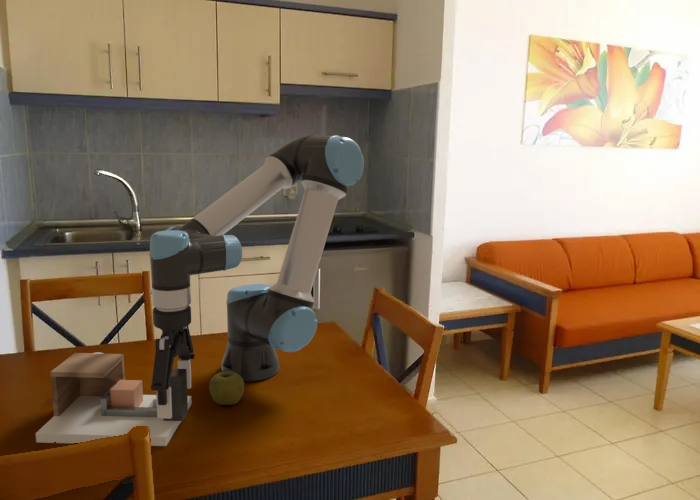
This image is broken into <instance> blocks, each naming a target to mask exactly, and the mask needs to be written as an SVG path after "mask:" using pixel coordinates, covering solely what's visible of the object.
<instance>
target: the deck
mask: <svg viewBox="0 0 700 500" xmlns="http://www.w3.org/2000/svg"><path fill="white" fill-rule="evenodd" d="M101 397H102V396H80V397H79V398H78V399H77V400H75V401H74V402H73V403H72V404H71V405H70V406H69V407H68V408H67V409H66V410H65V411H64V412H63V413H62V414H61V415H60V416H54V415H53V417H51V418H50V420H48V421H47V422H46V423H45V424H44V425H43V426H41V428H40V429H38V430H37V432H35V443H37V444H38V443H43V444H44V443H45V444H72V445H73V444H74V443H80V442H86V441H90V440H95V439H100V438H106V437H113V436H119V435H124V434H127V433H128V432H129V431H130V430H131V429H132V428H133V427H136V426H148V427H149V429H150V438H151V446H150V447H153V446H154V447H167V446H168V444H169V443H170V441H171V438H172V437H173V435H174V434H175V433H176V430H177V429H178V427H179V426H180V424H181V422H182V421H163V418H157V417H123V416H102V415H101V400H100V398H101ZM192 399H193V398H192V395H187V400H188V410H189V409H190V408H191V407H192V404H193V401H192ZM139 407H156V408H157V397H156V394H143V402H142V403H141V404H140V406H139ZM54 442H56V443H54Z"/></svg>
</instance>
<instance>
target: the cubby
mask: <svg viewBox="0 0 700 500" xmlns="http://www.w3.org/2000/svg"><path fill="white" fill-rule="evenodd" d="M99 353H100V352H93V353H92V352H89V353H88V352H74V353H73V354H72V355H70V356H69V357H68V358H66V359H65V360H63V362H61V363H60V364H58V365H57V366H56V367H55V368H53V369H52V370H51V371H50V383H51V395H52V409H53V417H54V416H60V415H61V414H62V413H63V412H64V411H65V410H66V409H67V408H68V407H69V406H70V405H71V404H72V403H73V402H74V401H75V400H77V399H78V398H79V397H80V396H103V395H104V394H105V393H106V392H107V391H108V390H109V389H110V388H111V387H112V386H114V385H115V384H116V383H117V382H118V381H119V380H126V376H125V375H126V373H125V357H124V355H125V354H124V353H104V354H99Z"/></svg>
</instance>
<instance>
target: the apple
mask: <svg viewBox="0 0 700 500" xmlns="http://www.w3.org/2000/svg"><path fill="white" fill-rule="evenodd" d="M244 392H245V381H243V379H242V377H241V376H240V375H239V374H237V373H235V372H232V371H224V372H222V371H220V372H217V373H215V374H214V375H213V376H212V377H211V379H210V381H209V393H210V397H211V398H212V400H213V401H214V403H216V404H218V405H221V406H222V405H223V406H232V405H236V404H237V403H238V402H239V401H240V400H241V399H242V397H243V395H244Z"/></svg>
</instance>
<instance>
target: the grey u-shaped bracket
mask: <svg viewBox="0 0 700 500" xmlns="http://www.w3.org/2000/svg"><path fill="white" fill-rule="evenodd" d="M112 387H113V386H112ZM112 387H111V388H112ZM169 387H171V402H172V418H171V419H165V418H163V421H181V422H183V421H184V419H185V417H186V416H187V414H188V413H189V409H188V400H187V396H188V389H187V369H178V368H172V372H171V378H170V383H169ZM111 388H110V389H109V390H108V391H107V392H106V393H105V394H104V395H103V396H102V397H101V398H100V400H101V415H102V416H123V417H157V407H120V406H111V393H110V390H111Z"/></svg>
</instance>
